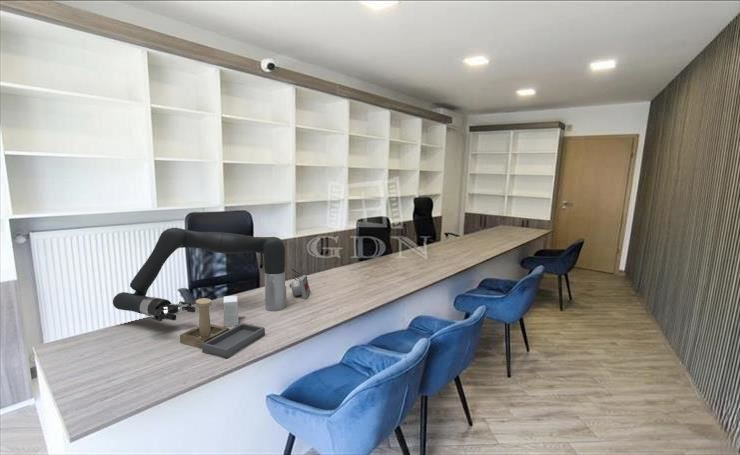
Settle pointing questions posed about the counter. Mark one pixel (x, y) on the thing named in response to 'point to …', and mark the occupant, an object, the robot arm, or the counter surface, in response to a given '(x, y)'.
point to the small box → (230, 310)
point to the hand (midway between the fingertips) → (185, 313)
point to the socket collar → (193, 334)
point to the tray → (233, 340)
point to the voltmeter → (300, 286)
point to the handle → (204, 317)
